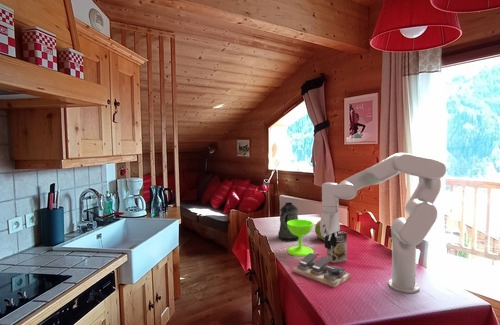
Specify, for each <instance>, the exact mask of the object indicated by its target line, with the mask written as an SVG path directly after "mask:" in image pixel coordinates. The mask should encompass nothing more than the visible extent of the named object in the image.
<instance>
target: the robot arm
mask: <svg viewBox="0 0 500 325" xmlns="http://www.w3.org/2000/svg"><path fill="white" fill-rule="evenodd" d="M446 172H447V166H446V164H445V163H444V162H443V161H441V160H440V159H436V158H430V157H425V156H419V155H415V154H412V153H407V152H397V153H394V154H391V155H390V156H389V157H386V158H385V159H383V160H381V161H379V162H377V163H375V164H374V165H372V166H370V167H367V168H365V169H364V170H362V171H359V172H357V173H355V174H353V175H350V176H349V177H347V178H345V179H344V180H342V181H340V183H338V182H327V181H326V182H324V183H322V184H321V209H322V210H321V216H320V220H321V221H320V220H319V221H320V232H321V236H322V237H323V238H324V240H325V241H324V240H323V241H324V248H325V249H327V248H328V249H331V246H335V247H336V246H337V234H338V232H339V230H340V227H341V226H340V224H341V222H340V210H339V207H340V204H339V199H342V200H346V201H347V200H352V199H355V197H357V194H358V191H359V190H361V189H363V188H366V187H368V186H374V185H375V186H376V185H380V184H382V183H384V182H386V181H388V180H390V179H391V178H393V177H395V176H397V175H400V174H401V173H402V174H406V175H409V176H414V177H418V184H417V186H416V189H415V190H414V192H413V194H412V195H411V197H409V200H408V201H407V202H406V204H405V207H404V208H405V209H404V210H405V212H406V214H407V215H408V217H402V216H401V217H398V218H397V217H396V218H395V219H394V220H393V221H392V223H391V225H390V234H391V247H392V248H391V278H390V279H389V280H388V283H387V284H388V286H389V287H390V288H391V289H392V290H394V291H397V292H400V293H404V294H405V293H407V294H414V293H417V292H419V291H420V285H419V284H418V283H417V282H416V277H417V274H416V273H417V271H416V269H417V267H416V265H417V264H416V260H417V259H416V258H417V256H416V255H417V248H416V246H418V245H420V244H421V243H422V241H424V240H425V237H427V235H428V233H429V232H430V230H431V229H432V227H433V226H434V224H435V222H436V220H437V218H438V210H437V207H436V206H435V204H434V203H435V201H436V198H438V195H439V194H440V191H441V188H442V187H441V186H442V181H441V179H442V178H443V177H444V176H445V175H446ZM326 232H327V233H326ZM326 235H328V236H326Z"/></svg>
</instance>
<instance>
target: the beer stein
mask: <svg viewBox="0 0 500 325" xmlns="http://www.w3.org/2000/svg"><path fill="white" fill-rule="evenodd" d="M298 212H299V209H298V208H297V207H296V206H295V205H294V204H293V202H285V203H284V205H283V206H282V207H281V208H280V213H281V214H280V216H279V222H280V225H279V231H278V233H277V235H278V239H280V241H284V242H297V241H298V242H299V236H296V235H294V234H292V233H291V232H290V230H289V229H288V227H287V222H288V221H290V220H299V216H298Z"/></svg>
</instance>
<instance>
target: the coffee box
mask: <svg viewBox="0 0 500 325" xmlns="http://www.w3.org/2000/svg"><path fill="white" fill-rule="evenodd" d="M327 236H328V235H327ZM347 240H348V232H345V231H342V230H339V232H338V234H337V246H336V247H335V246H331V249H328V248H326V254H327V256H326V258H328V259H330V262H331V263H332V264H334V263H342V262H347V261H348V258H347V256H348V249H347V248H348V247H347V246H348V245H347Z"/></svg>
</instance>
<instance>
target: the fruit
mask: <svg viewBox="0 0 500 325" xmlns="http://www.w3.org/2000/svg"><path fill="white" fill-rule="evenodd" d="M320 221H321V219H320V220H319V221H317V223H316V224H315V229H314V230H315V231H314V232H315V234H316V236H317V237H318V239H320V240H322V241H324V242H325V240H324V238H323V237H322V236H321V232H320ZM326 233H327V232H326ZM326 236H327V235H326Z"/></svg>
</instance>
